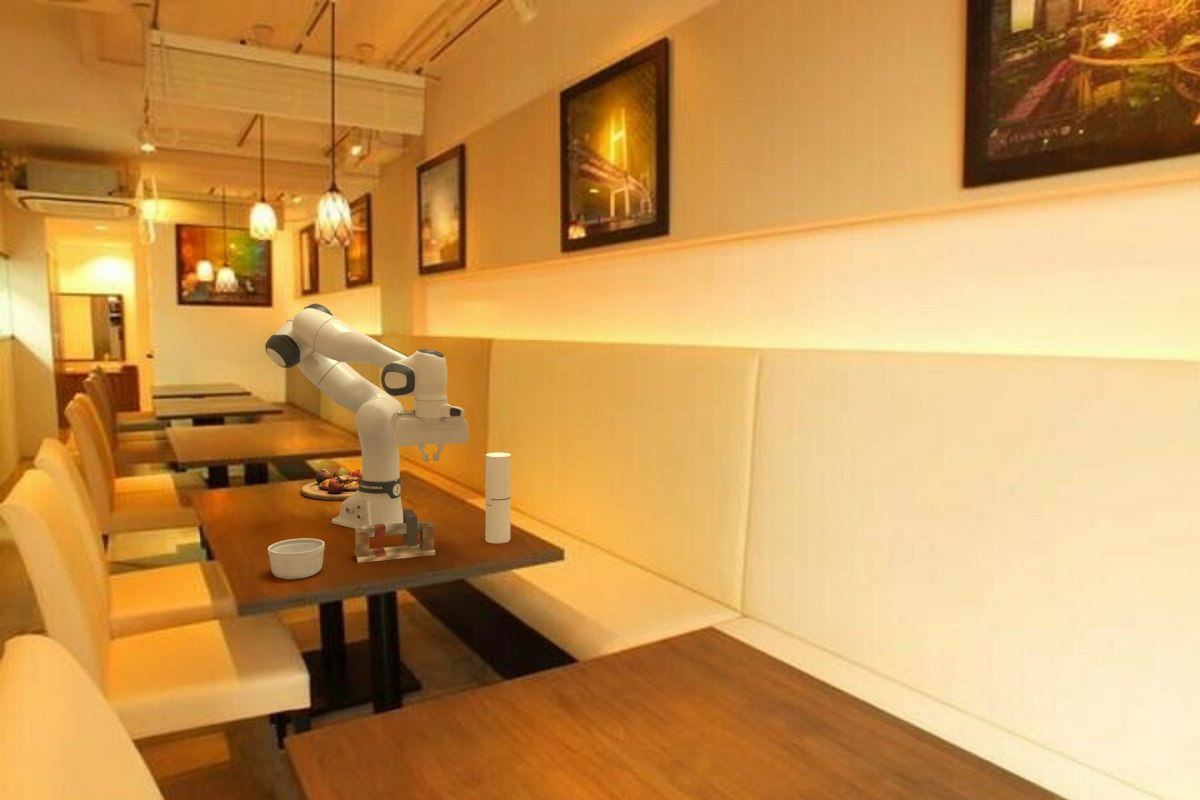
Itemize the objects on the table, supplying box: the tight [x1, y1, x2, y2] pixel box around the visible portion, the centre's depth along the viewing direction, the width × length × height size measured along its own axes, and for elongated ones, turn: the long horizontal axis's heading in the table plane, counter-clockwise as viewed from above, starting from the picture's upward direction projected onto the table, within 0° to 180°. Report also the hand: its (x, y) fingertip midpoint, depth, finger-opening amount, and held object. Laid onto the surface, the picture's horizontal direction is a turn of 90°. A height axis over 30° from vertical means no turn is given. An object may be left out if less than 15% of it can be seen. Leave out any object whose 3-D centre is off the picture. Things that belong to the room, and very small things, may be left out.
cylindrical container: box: [484, 452, 512, 544], centre depth 220 cm, size 7×7×25 cm
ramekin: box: [267, 537, 326, 580], centre depth 190 cm, size 13×13×7 cm
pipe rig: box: [354, 520, 436, 564], centre depth 205 cm, size 20×8×8 cm, turn 113°
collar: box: [402, 509, 418, 547], centre depth 207 cm, size 2×8×8 cm, turn 23°
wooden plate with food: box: [300, 466, 362, 501], centre depth 279 cm, size 32×32×8 cm
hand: (431, 460), depth 207 cm, fingers closed
